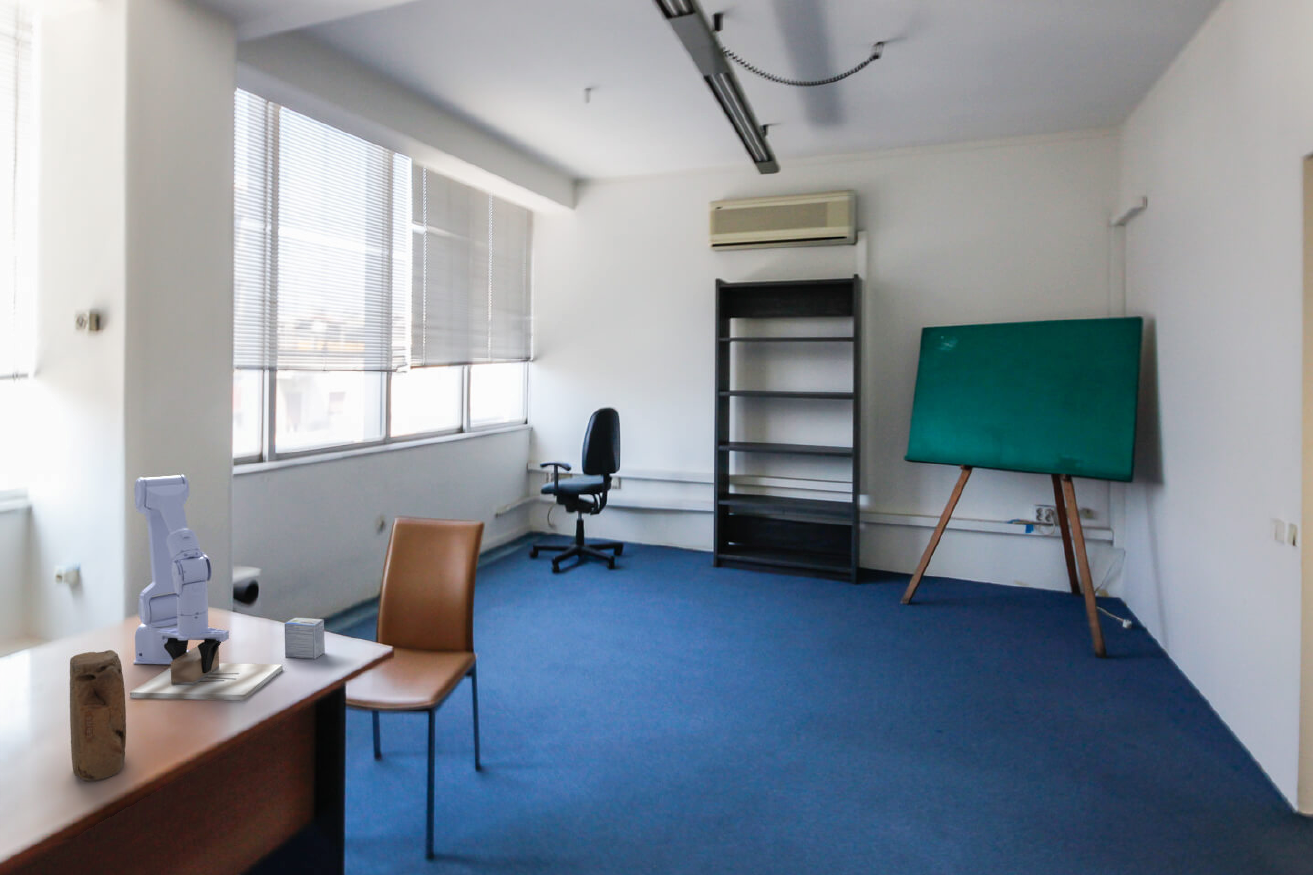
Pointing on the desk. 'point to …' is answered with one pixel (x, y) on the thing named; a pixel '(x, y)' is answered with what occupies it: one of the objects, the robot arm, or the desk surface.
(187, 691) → the board
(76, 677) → the block
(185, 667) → the block
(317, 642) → the medicine box
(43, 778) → the desk surface
